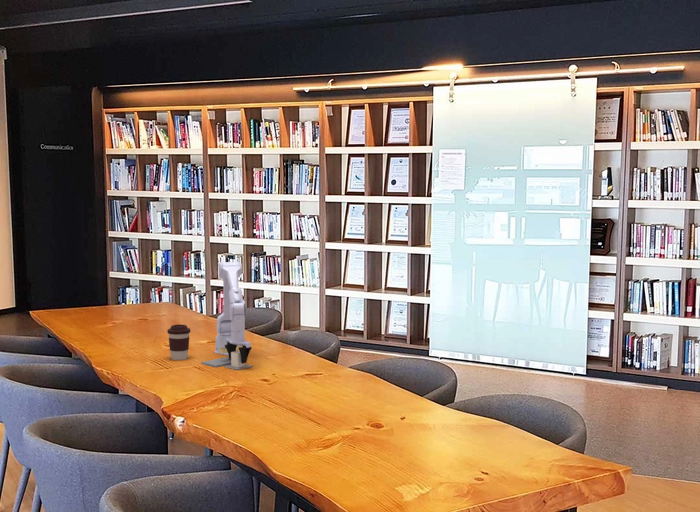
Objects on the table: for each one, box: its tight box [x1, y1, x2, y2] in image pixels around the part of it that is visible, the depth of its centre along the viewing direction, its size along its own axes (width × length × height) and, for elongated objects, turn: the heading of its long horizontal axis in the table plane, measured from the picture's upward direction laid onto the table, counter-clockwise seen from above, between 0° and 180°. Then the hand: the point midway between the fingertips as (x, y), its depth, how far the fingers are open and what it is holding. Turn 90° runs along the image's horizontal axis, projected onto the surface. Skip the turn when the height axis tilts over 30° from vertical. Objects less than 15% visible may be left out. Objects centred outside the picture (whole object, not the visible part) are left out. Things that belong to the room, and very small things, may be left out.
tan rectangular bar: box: [218, 345, 242, 355], centre depth 337 cm, size 2×11×2 cm, turn 143°
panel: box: [201, 355, 231, 368], centre depth 333 cm, size 10×14×5 cm
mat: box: [223, 363, 254, 371], centre depth 328 cm, size 9×9×1 cm
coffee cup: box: [167, 324, 191, 361], centre depth 342 cm, size 10×10×15 cm
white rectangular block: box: [230, 350, 245, 368], centre depth 327 cm, size 4×6×4 cm
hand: (238, 361), depth 328 cm, fingers open, 7 cm apart
